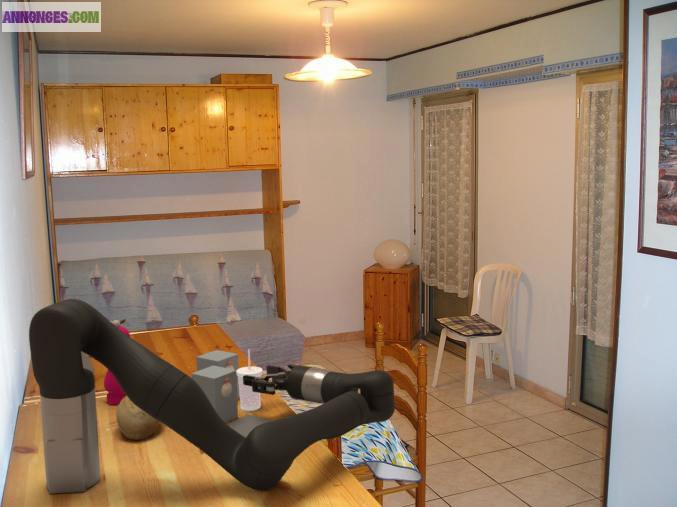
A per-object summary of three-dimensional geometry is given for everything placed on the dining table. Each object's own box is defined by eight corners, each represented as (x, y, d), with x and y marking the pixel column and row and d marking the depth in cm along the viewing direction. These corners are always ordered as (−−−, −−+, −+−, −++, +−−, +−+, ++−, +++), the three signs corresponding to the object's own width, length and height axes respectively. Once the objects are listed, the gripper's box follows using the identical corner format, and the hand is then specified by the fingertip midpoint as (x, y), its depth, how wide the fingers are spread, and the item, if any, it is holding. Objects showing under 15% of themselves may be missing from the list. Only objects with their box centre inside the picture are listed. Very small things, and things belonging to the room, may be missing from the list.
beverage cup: (234, 404, 165) (233, 347, 163) (260, 401, 167) (258, 344, 165) (240, 413, 160) (238, 354, 158) (266, 409, 162) (265, 351, 160)
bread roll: (160, 414, 160) (158, 381, 159) (166, 439, 146) (164, 402, 144) (116, 420, 157) (114, 385, 155) (118, 445, 143) (115, 408, 141)
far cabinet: (241, 398, 170) (239, 354, 168) (221, 406, 164) (219, 361, 162) (218, 392, 174) (216, 350, 172) (198, 400, 168) (196, 356, 166)
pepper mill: (126, 406, 165) (122, 324, 162) (98, 404, 166) (94, 323, 163) (141, 396, 172) (137, 317, 169) (114, 394, 173) (110, 316, 170)
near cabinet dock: (284, 425, 152) (283, 376, 151) (251, 442, 143) (249, 390, 142) (221, 408, 163) (219, 363, 161) (186, 423, 154) (184, 375, 152)
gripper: (294, 411, 148) (236, 399, 157) (331, 391, 160) (275, 381, 169) (292, 376, 147) (234, 367, 156) (330, 359, 159) (274, 351, 168)
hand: (256, 374), depth 162 cm, fingers open, 8 cm apart
